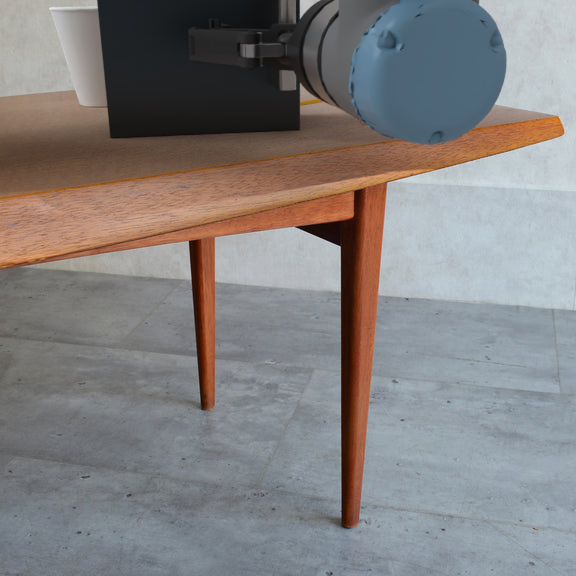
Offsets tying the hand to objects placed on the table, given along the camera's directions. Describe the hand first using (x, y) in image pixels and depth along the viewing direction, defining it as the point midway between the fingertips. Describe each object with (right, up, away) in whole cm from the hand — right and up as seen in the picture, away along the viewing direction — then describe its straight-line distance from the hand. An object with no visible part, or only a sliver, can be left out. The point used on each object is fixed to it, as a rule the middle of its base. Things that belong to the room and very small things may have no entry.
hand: (289, 37), depth 69 cm
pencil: (+4, +1, +31) cm, 32 cm away
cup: (-25, +2, +32) cm, 41 cm away
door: (-8, -8, +6) cm, 13 cm away
